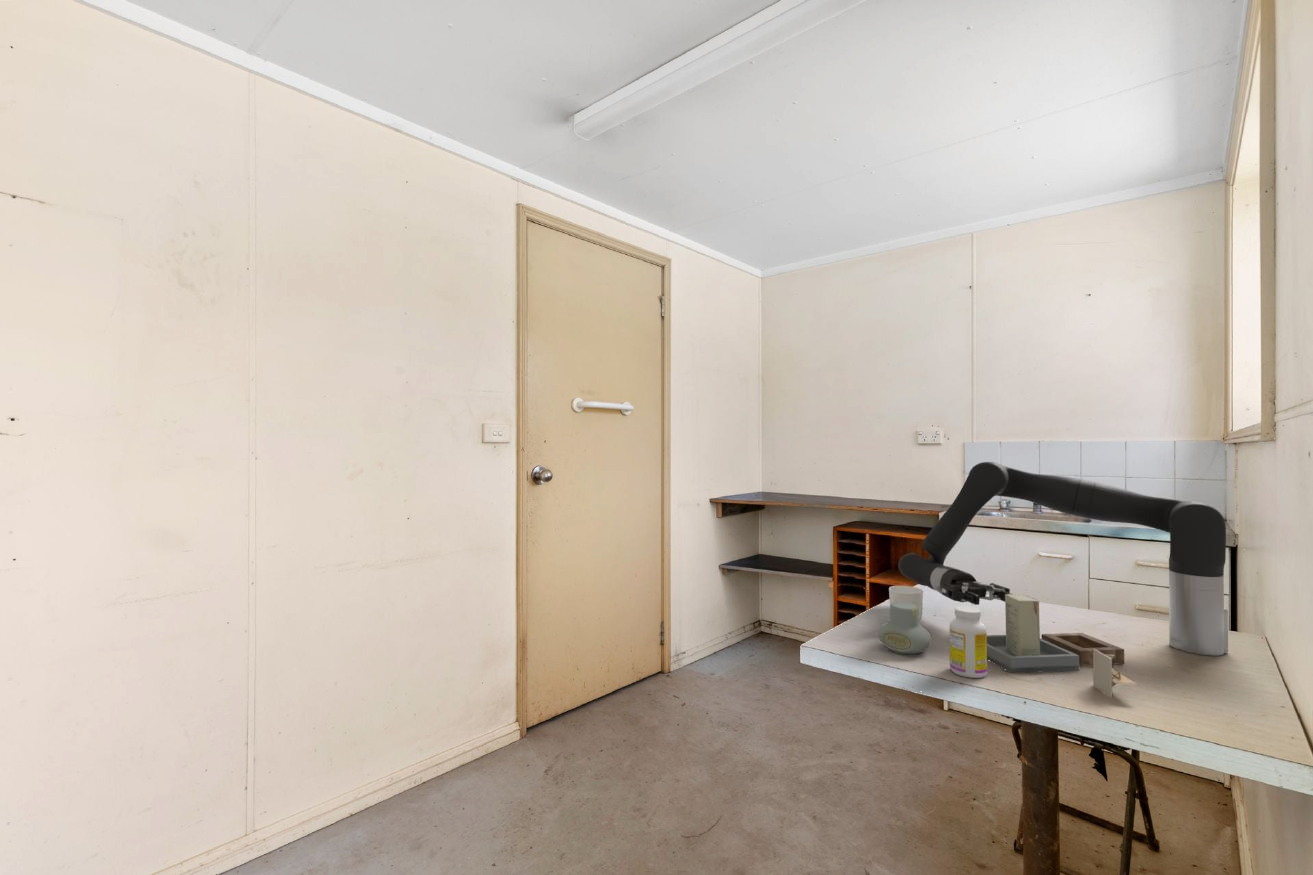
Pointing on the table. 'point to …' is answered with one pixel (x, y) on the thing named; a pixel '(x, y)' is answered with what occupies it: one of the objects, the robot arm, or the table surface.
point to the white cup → (907, 597)
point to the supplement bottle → (968, 643)
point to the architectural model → (1106, 673)
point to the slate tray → (1031, 657)
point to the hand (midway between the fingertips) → (995, 600)
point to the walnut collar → (1085, 646)
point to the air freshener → (904, 630)
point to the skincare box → (1022, 625)
